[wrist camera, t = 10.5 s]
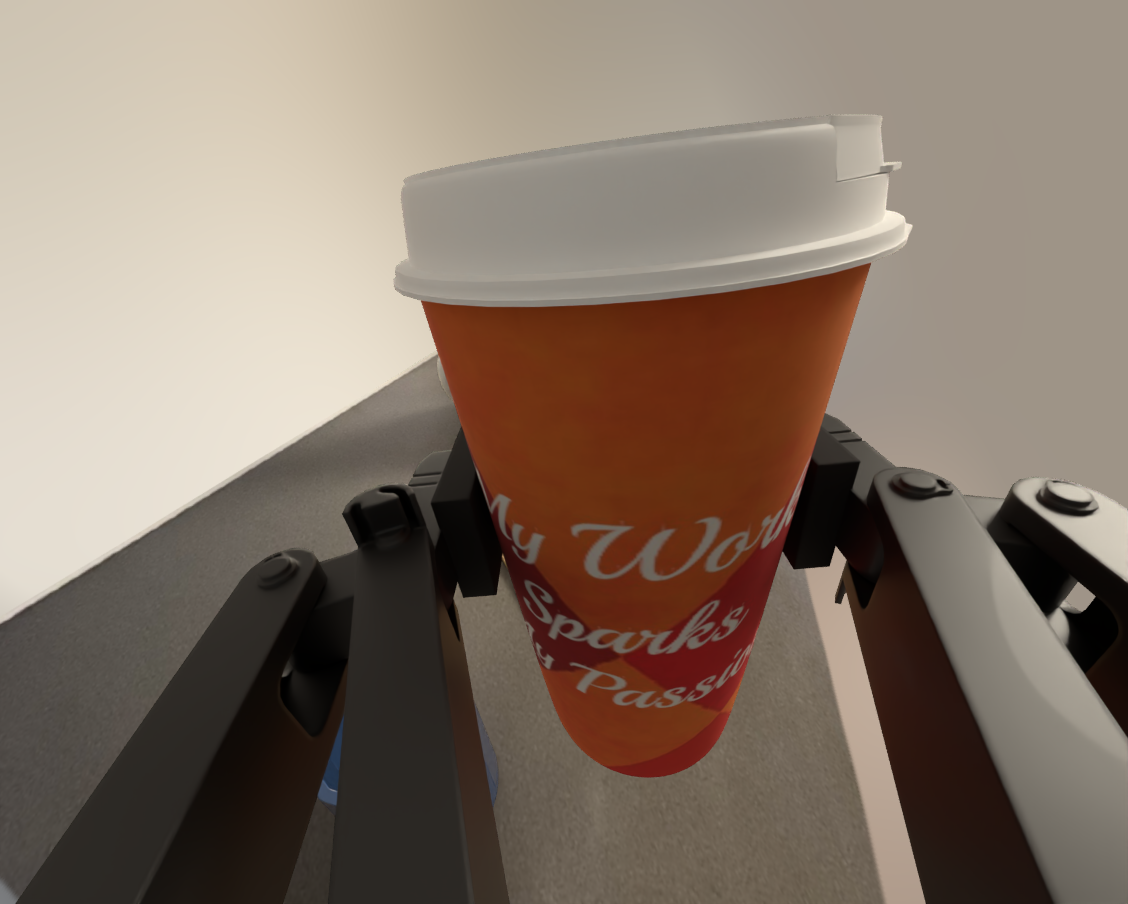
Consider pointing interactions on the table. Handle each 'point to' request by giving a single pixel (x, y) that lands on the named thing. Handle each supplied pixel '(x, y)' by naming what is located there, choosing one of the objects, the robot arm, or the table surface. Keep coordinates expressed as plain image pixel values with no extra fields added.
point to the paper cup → (648, 392)
